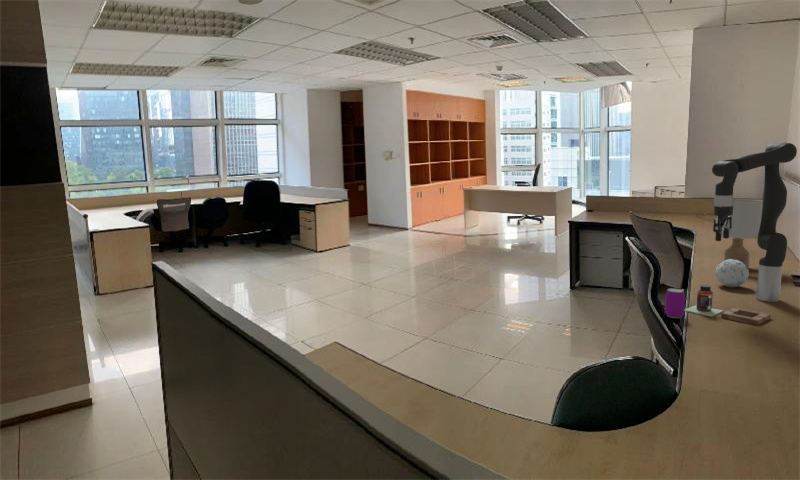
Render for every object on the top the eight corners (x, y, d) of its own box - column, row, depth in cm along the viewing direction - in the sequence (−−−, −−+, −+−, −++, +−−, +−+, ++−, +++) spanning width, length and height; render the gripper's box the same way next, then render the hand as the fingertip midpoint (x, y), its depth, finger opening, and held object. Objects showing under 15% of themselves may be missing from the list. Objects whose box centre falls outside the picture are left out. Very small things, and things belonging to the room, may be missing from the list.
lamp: (768, 271, 316) (774, 201, 309) (728, 272, 316) (733, 202, 310) (742, 263, 339) (748, 198, 333) (705, 264, 340) (710, 199, 333)
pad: (695, 306, 247) (695, 305, 247) (723, 311, 237) (723, 310, 237) (683, 311, 240) (683, 309, 239) (711, 316, 230) (711, 315, 230)
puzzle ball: (742, 291, 271) (744, 263, 269) (710, 286, 282) (712, 259, 280) (751, 286, 281) (753, 259, 278) (720, 282, 292) (722, 255, 290)
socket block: (734, 311, 237) (734, 307, 237) (770, 318, 226) (770, 314, 226) (721, 317, 229) (721, 313, 229) (757, 325, 218) (758, 320, 217)
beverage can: (668, 312, 238) (669, 287, 236) (686, 316, 232) (688, 289, 230) (661, 316, 232) (663, 290, 231) (680, 320, 227) (682, 293, 225)
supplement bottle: (713, 312, 235) (715, 287, 233) (699, 311, 236) (700, 287, 234) (708, 308, 241) (710, 284, 239) (694, 308, 242) (696, 284, 240)
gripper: (721, 203, 248) (719, 237, 251) (708, 206, 240) (706, 241, 242) (738, 203, 242) (737, 238, 245) (726, 206, 234) (724, 242, 236)
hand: (722, 239), depth 244 cm, fingers open, 8 cm apart
